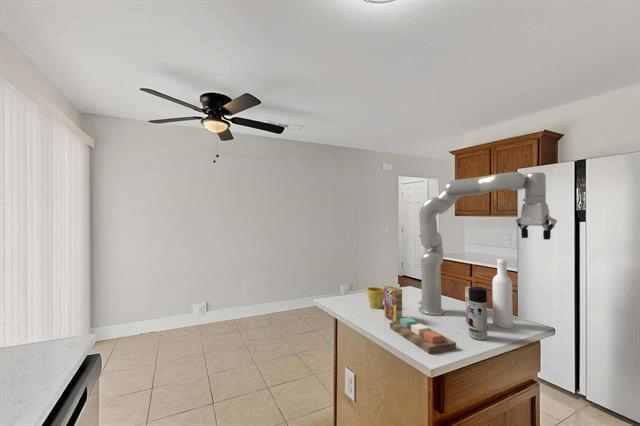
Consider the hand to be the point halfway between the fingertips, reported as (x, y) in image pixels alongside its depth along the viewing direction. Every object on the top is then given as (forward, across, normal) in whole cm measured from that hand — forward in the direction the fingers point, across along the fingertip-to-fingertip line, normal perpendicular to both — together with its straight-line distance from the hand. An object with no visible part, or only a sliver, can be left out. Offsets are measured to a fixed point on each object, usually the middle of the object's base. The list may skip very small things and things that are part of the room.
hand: (535, 238), depth 129 cm
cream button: (+38, -7, -56) cm, 68 cm away
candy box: (+40, -30, -54) cm, 74 cm away
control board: (+40, -7, -56) cm, 69 cm away
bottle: (+40, -7, -11) cm, 42 cm away
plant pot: (+41, -50, -52) cm, 83 cm away
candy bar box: (+40, -11, -24) cm, 48 cm away
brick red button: (+39, +1, -56) cm, 68 cm away
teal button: (+39, -15, -56) cm, 69 cm away
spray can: (+40, 0, -32) cm, 52 cm away
